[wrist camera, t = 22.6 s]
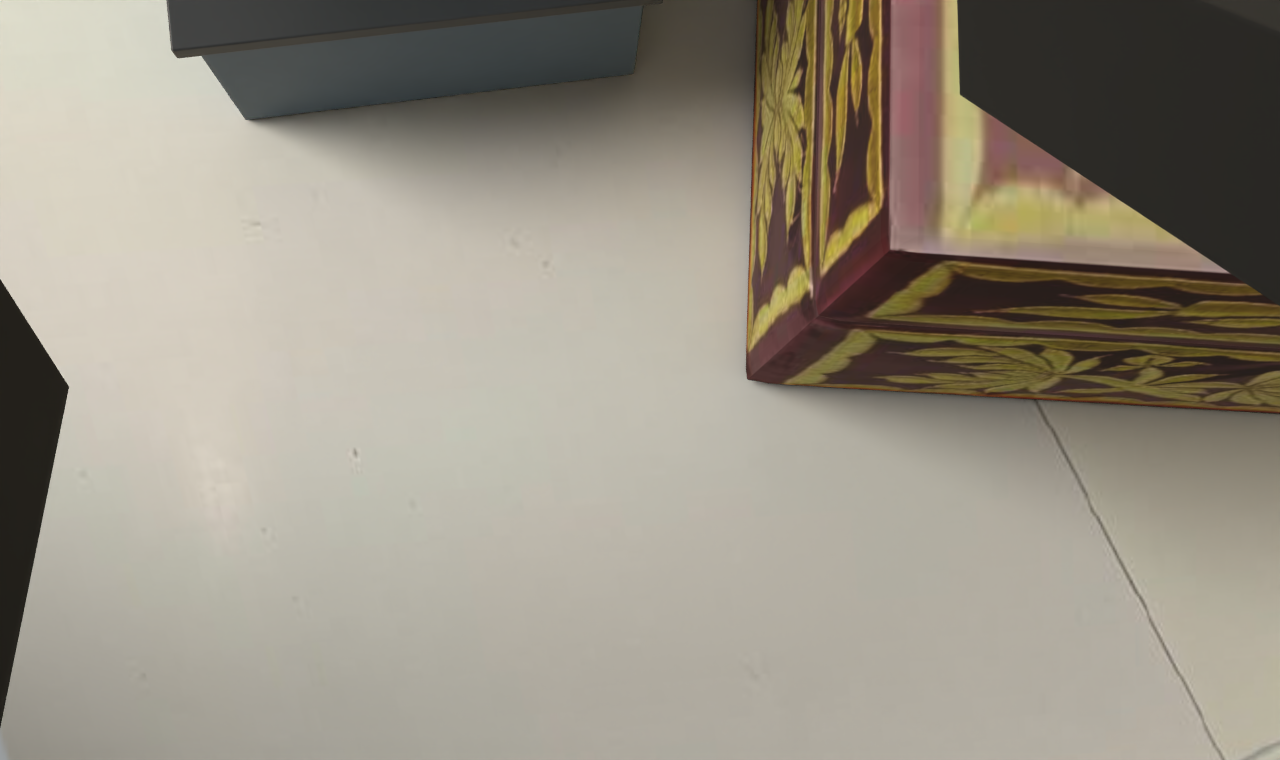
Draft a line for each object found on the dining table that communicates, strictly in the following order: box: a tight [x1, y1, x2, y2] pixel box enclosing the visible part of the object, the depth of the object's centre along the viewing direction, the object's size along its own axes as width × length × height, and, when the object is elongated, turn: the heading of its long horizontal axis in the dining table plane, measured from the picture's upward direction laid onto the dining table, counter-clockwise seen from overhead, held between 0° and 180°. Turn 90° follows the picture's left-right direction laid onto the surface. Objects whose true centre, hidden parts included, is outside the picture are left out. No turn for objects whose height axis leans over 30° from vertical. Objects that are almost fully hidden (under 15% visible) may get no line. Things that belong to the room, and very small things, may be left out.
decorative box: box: [746, 0, 1280, 414], centre depth 38 cm, size 28×19×15 cm
